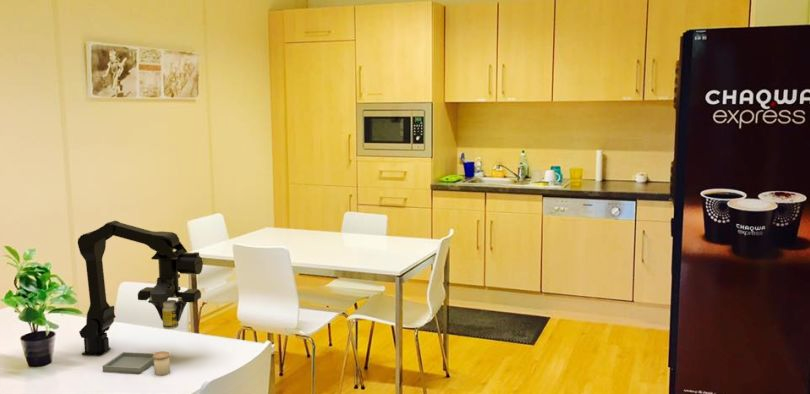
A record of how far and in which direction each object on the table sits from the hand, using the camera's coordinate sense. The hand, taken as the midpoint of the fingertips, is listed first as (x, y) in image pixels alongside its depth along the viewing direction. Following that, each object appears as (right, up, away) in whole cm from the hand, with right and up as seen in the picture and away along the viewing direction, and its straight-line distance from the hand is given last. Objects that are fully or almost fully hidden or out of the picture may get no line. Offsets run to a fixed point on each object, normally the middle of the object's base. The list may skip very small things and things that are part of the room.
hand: (170, 320), depth 224 cm
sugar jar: (+1, -14, -11) cm, 18 cm away
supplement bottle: (0, -2, 0) cm, 2 cm away
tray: (-10, -13, -6) cm, 17 cm away
